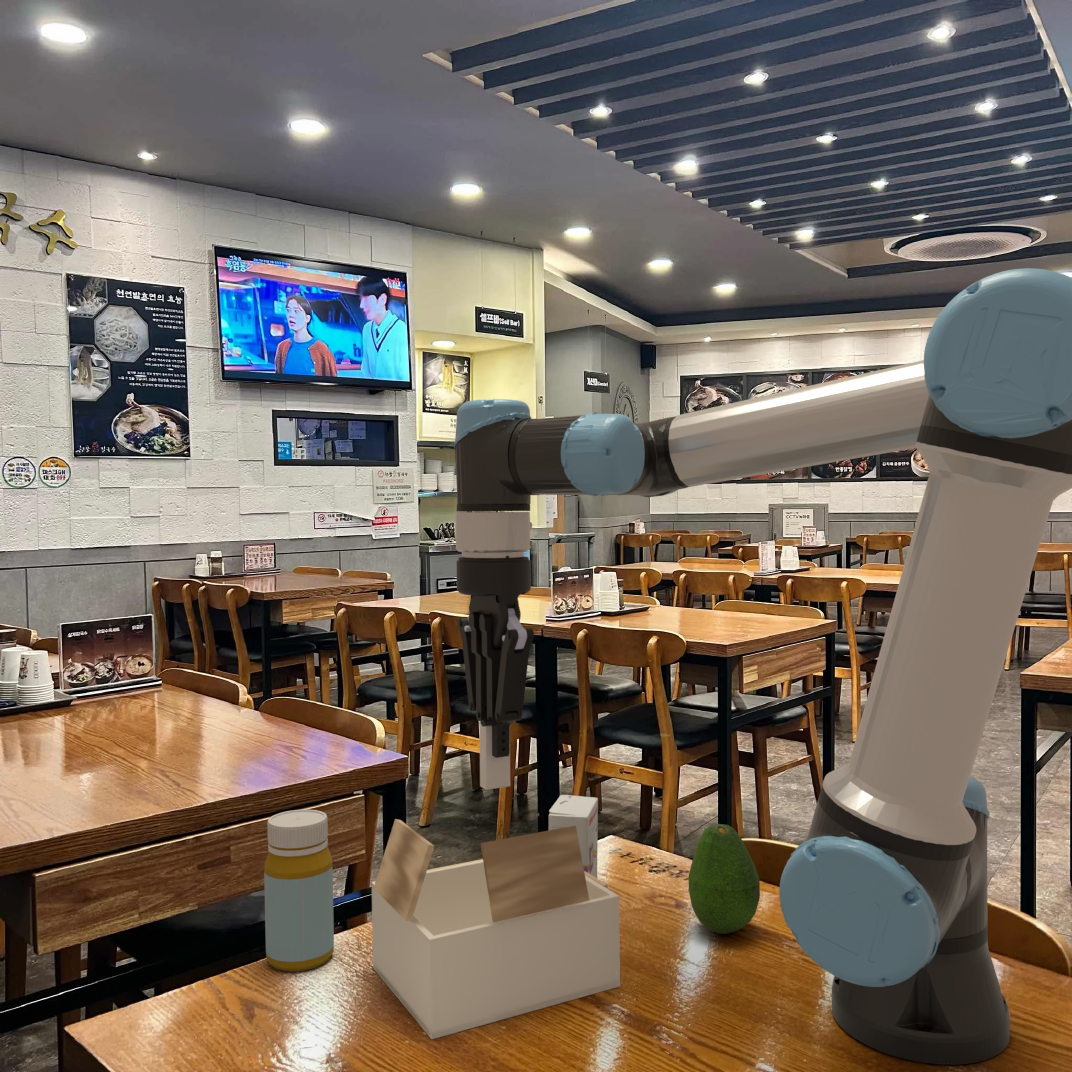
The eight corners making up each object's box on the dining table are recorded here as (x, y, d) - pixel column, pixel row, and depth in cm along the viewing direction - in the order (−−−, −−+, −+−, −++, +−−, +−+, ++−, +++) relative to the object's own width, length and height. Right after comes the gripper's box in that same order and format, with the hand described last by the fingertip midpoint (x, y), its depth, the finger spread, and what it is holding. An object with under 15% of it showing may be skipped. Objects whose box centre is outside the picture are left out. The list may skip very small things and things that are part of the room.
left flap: (411, 921, 91) (434, 845, 92) (405, 920, 91) (428, 844, 92) (378, 889, 99) (400, 820, 100) (373, 888, 99) (395, 818, 100)
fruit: (674, 933, 110) (673, 825, 110) (713, 911, 116) (712, 809, 115) (736, 954, 105) (735, 841, 104) (774, 930, 110) (773, 823, 110)
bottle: (274, 979, 100) (271, 832, 100) (259, 953, 106) (257, 814, 106) (342, 964, 103) (339, 821, 103) (323, 939, 110) (321, 804, 109)
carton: (627, 984, 98) (626, 894, 98) (431, 1039, 88) (429, 939, 88) (545, 923, 113) (544, 845, 113) (370, 964, 103) (369, 879, 103)
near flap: (589, 900, 95) (575, 825, 97) (495, 922, 90) (482, 842, 92) (586, 900, 95) (572, 826, 97) (492, 922, 91) (480, 843, 93)
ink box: (589, 916, 115) (588, 815, 115) (547, 913, 116) (545, 813, 116) (599, 888, 123) (598, 794, 123) (559, 886, 124) (558, 792, 124)
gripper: (557, 556, 96) (558, 797, 97) (498, 551, 108) (500, 766, 108) (487, 558, 93) (489, 808, 93) (434, 553, 104) (436, 775, 105)
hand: (495, 786), depth 101 cm, fingers closed
